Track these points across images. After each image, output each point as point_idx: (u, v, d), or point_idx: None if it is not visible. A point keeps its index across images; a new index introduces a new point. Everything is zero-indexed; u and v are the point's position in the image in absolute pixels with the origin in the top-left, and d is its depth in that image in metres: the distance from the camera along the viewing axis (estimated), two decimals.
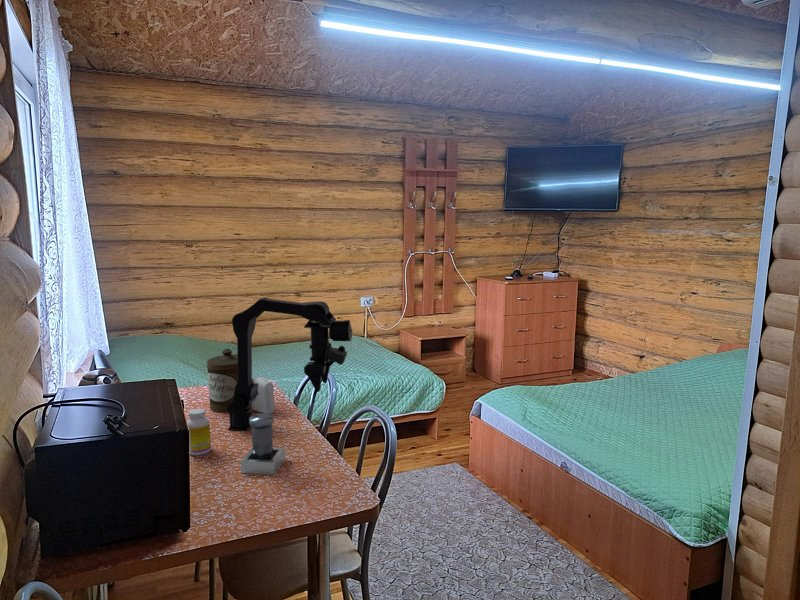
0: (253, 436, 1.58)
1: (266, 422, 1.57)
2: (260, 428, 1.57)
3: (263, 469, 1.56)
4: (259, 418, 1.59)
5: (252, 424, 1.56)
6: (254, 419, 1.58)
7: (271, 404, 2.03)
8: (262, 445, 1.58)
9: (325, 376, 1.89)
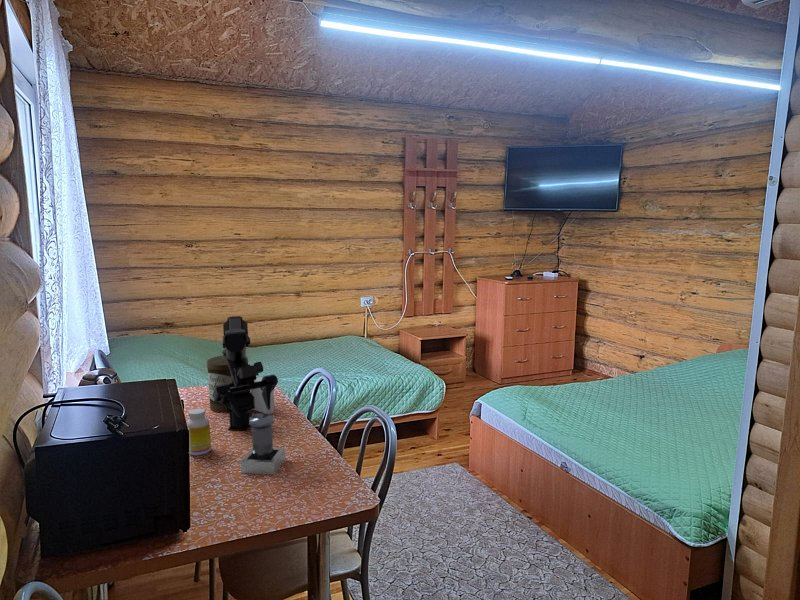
0: (253, 436, 1.58)
1: (266, 422, 1.57)
2: (260, 428, 1.57)
3: (263, 469, 1.56)
4: (259, 418, 1.59)
5: (252, 424, 1.56)
6: (254, 419, 1.58)
7: (271, 404, 2.03)
8: (262, 445, 1.58)
9: (266, 402, 1.70)
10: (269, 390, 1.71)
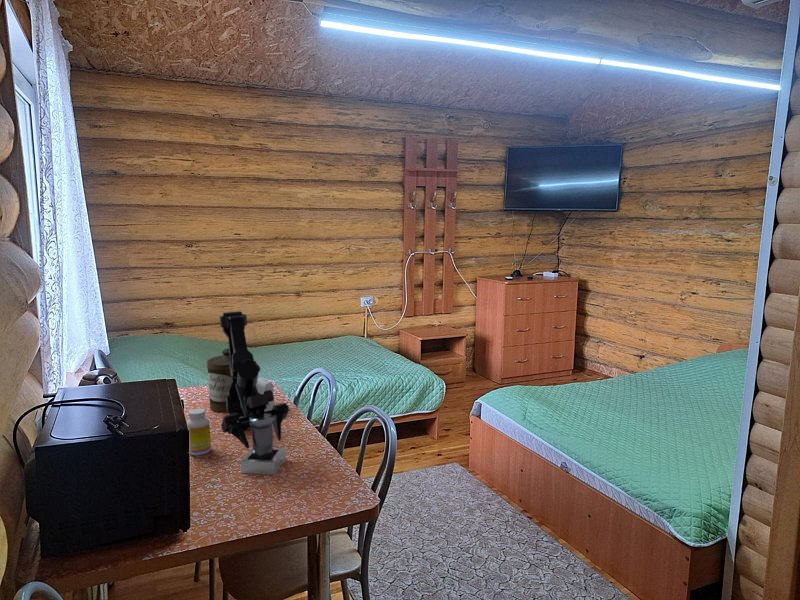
0: (253, 436, 1.58)
1: (266, 422, 1.56)
2: (260, 428, 1.57)
3: (263, 469, 1.56)
4: (259, 418, 1.59)
5: (252, 424, 1.56)
6: (254, 419, 1.58)
7: (271, 404, 2.03)
8: (263, 445, 1.57)
9: (277, 432, 1.62)
10: (280, 420, 1.64)
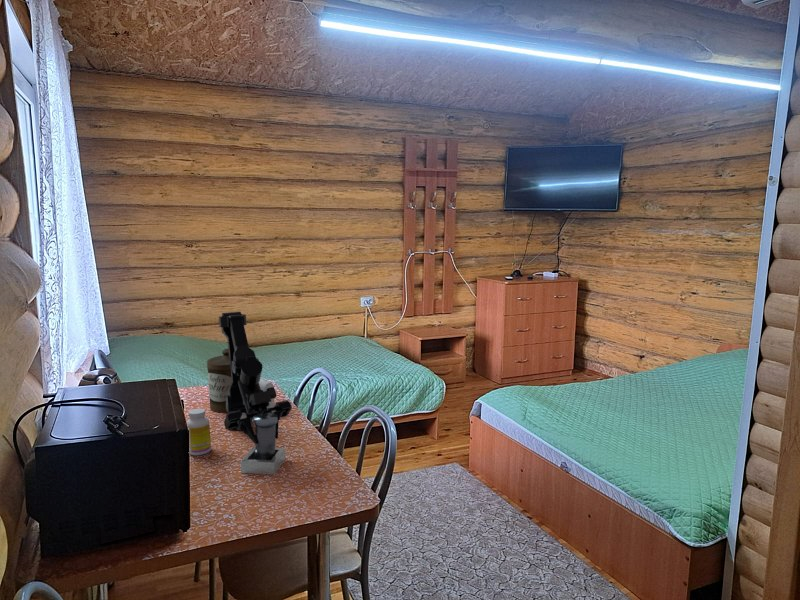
0: (256, 435, 1.58)
1: (270, 422, 1.57)
2: (263, 427, 1.57)
3: (263, 469, 1.56)
4: (264, 417, 1.59)
5: (256, 423, 1.57)
6: (258, 418, 1.58)
7: (271, 404, 2.03)
8: (265, 444, 1.58)
9: None
10: None
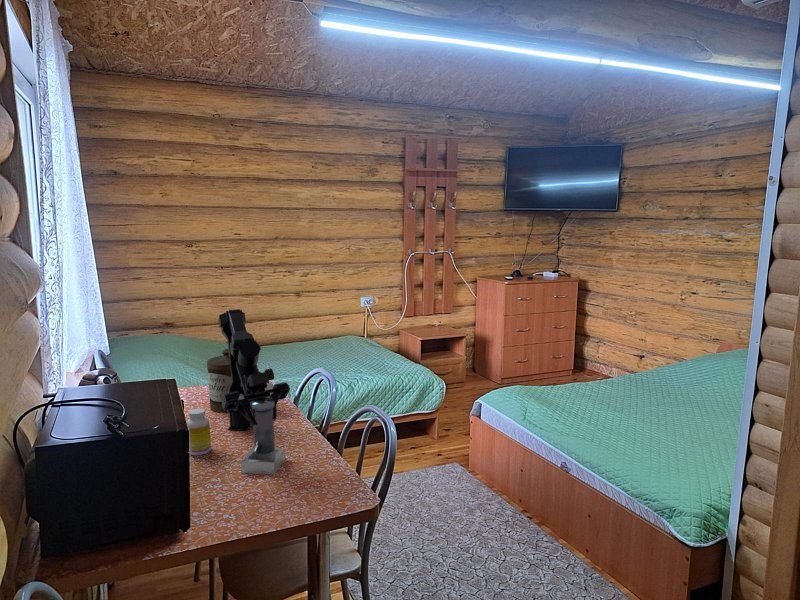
0: (254, 420, 1.57)
1: (267, 406, 1.56)
2: (260, 412, 1.56)
3: (263, 469, 1.56)
4: (260, 401, 1.58)
5: (253, 408, 1.56)
6: (255, 403, 1.57)
7: None
8: (263, 429, 1.57)
9: None
10: (275, 400, 1.62)
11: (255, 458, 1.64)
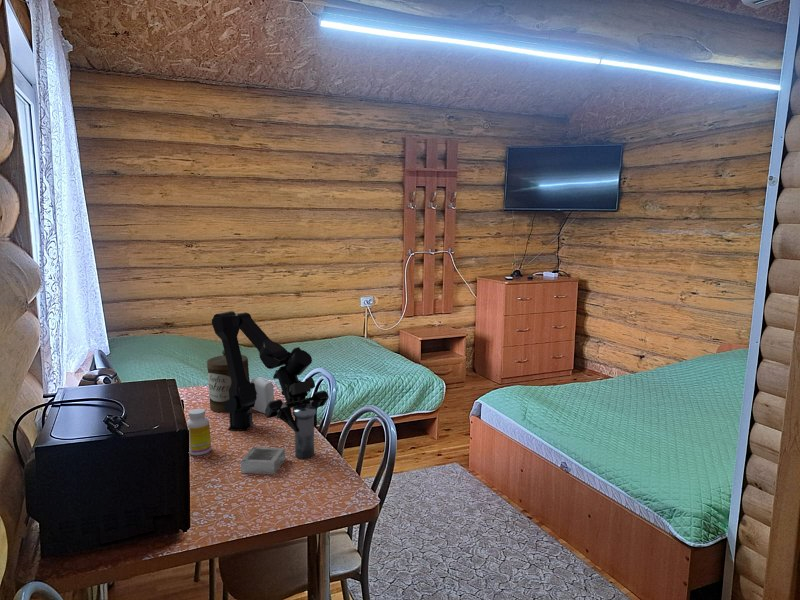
0: None
1: (309, 413, 1.63)
2: (303, 419, 1.63)
3: (263, 469, 1.56)
4: (302, 409, 1.65)
5: (296, 415, 1.63)
6: (297, 410, 1.64)
7: None
8: (305, 435, 1.64)
9: None
10: (315, 407, 1.69)
11: (255, 458, 1.64)
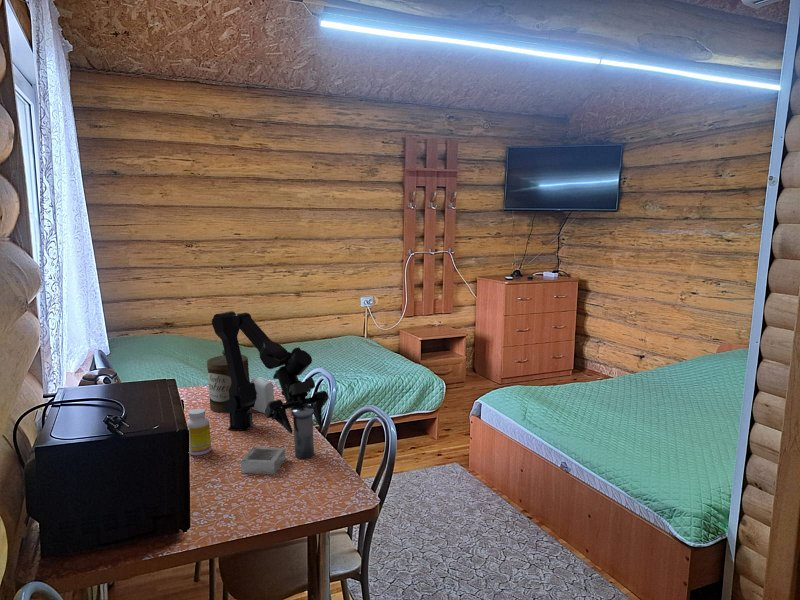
0: (295, 426, 1.65)
1: (307, 413, 1.63)
2: (301, 418, 1.63)
3: (263, 469, 1.56)
4: (300, 409, 1.66)
5: (294, 415, 1.63)
6: (296, 410, 1.65)
7: None
8: (304, 435, 1.64)
9: (318, 418, 1.69)
10: (320, 406, 1.70)
11: (255, 458, 1.64)
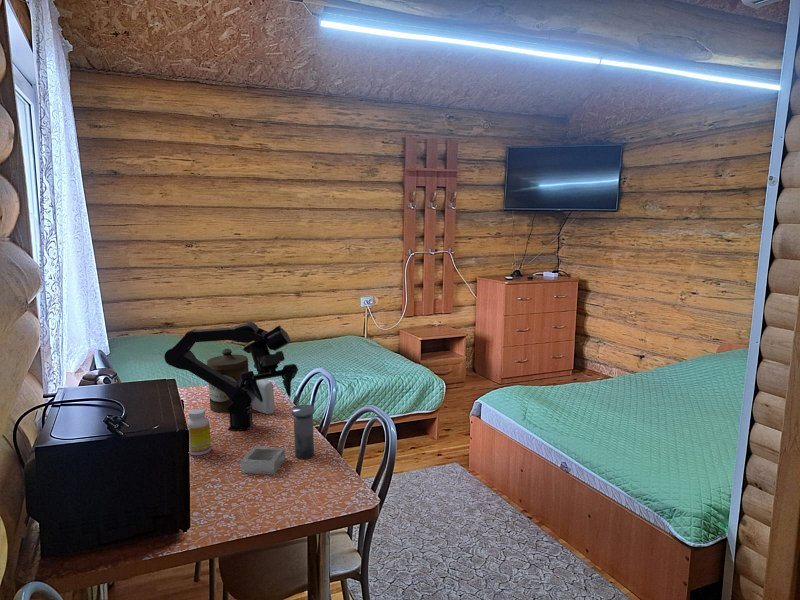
0: (295, 426, 1.65)
1: (308, 412, 1.64)
2: (302, 418, 1.64)
3: (263, 469, 1.56)
4: (301, 408, 1.66)
5: (294, 414, 1.64)
6: (296, 409, 1.65)
7: (271, 404, 2.03)
8: (304, 434, 1.64)
9: (287, 389, 1.81)
10: (289, 378, 1.83)
11: (255, 458, 1.64)
